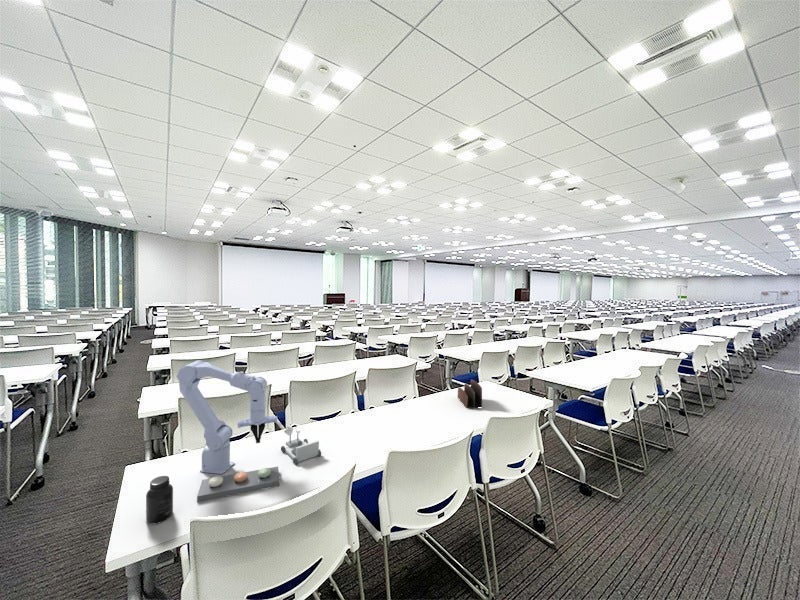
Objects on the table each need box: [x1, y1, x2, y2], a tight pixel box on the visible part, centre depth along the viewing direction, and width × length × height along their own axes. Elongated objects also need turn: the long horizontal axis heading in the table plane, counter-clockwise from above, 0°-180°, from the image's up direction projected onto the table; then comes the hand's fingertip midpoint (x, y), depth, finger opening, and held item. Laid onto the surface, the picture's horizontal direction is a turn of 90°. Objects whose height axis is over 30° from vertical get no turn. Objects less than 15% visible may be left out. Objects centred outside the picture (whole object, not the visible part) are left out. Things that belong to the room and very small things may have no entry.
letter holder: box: [457, 379, 483, 408], centre depth 212 cm, size 10×20×14 cm, turn 7°
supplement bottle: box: [145, 475, 174, 524], centre depth 103 cm, size 7×7×12 cm
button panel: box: [196, 466, 280, 502], centre depth 120 cm, size 26×10×2 cm, turn 113°
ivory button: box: [209, 475, 223, 488], centre depth 117 cm, size 4×4×3 cm
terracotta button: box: [234, 471, 248, 483], centre depth 120 cm, size 4×4×3 cm
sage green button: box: [258, 467, 271, 479], centre depth 123 cm, size 4×4×3 cm
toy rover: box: [280, 426, 322, 466], centre depth 145 cm, size 18×10×12 cm
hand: (258, 442), depth 132 cm, fingers closed
